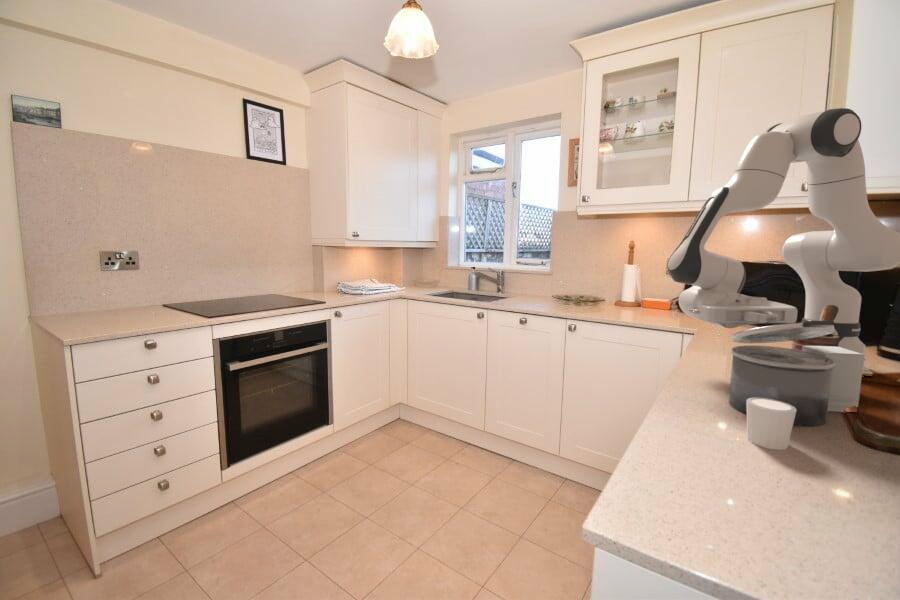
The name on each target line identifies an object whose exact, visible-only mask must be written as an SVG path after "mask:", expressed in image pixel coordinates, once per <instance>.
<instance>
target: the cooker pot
mask: <svg viewBox="0 0 900 600" xmlns="http://www.w3.org/2000/svg"><path fill="white" fill-rule="evenodd" d="M731 355H732V361H731V362H732V363H731V371H730V372H731V373H730V385H729V392H728V393H729V394H728V395H729V397H728V403H729V405H730V406H731V408H733V409H734V410H737V412H739V413H742V414H744V415H745V416H747V402H746V400H747V399H749V398H767V399H773V400H777V401H781V402H784V403H787V404H790V405H792V406H794V407H795V408H796V414H795V419H794V423H793V427H804V428H805V427H807V428H808V427H818V426H823V425H824V424H826V423H827V417H828V411H827V410H828V402H829V394H830V386H831V377H832V369H833V368H834V367H835V361H834V360H832V359H830V358H828V357H825V356H822V355H819V354H815V353H811V352H806V351H801V350H795V349H792V348H787V347H780V346H770V345H769V346H768V345H753V344H751V345H736V346H734V347H731Z"/></svg>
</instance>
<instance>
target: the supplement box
mask: <svg viewBox="0 0 900 600" xmlns="http://www.w3.org/2000/svg"><path fill="white" fill-rule="evenodd" d="M802 351H806V352H811V353H815V354H819V355H822V356H825V357H828V358H830V359H832V360H834V361H835V367H834V368H833V369H832V377H831V386H830V394H829V402H828V410H827V412H836V413H845V412H844V410H845V409H846V408H847V407H853V406H856V407H858V408H859V401H860V393H861V386H862V377H863V376H862V370H863V362H864V363H865V361H864V354H861V353H858V352H854V351H851V350H848V349H844V348H841V347H835V346H802Z"/></svg>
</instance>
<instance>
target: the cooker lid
mask: <svg viewBox="0 0 900 600" xmlns="http://www.w3.org/2000/svg"><path fill="white" fill-rule="evenodd" d="M834 331H835V329H834V321H809V322H806V323H801V322H795V323H779V324H772V325H765V326H759V327H753V328H748V329H743V330H741V331H737V332H735V333H732V335H731V339H732V342H733V343H738V344H770V343H783V342H792V341H795V340H802V339H809V338H815V337H820V336H824V335H828V334H831V333H833V332H834Z"/></svg>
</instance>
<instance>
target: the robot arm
mask: <svg viewBox="0 0 900 600" xmlns="http://www.w3.org/2000/svg"><path fill="white" fill-rule="evenodd" d="M861 133H862V121H861V118H860V117H859V115H858V114H857V113H856V112H855V111H854V110H853V109H851V108H843V107H839V108H837V107H836V108H830V109H827V110H825V111H820V112H814V113H813V112H812V113H808V114H805V115H801V116H798V117H797V118H794V119H790V120H788V121H785V122H782V123H776V124H775V125H773V126H770V127H769V128H767V129H766V130H765V131H763V132H762V133H759V134H757V135H755V136H754V137H753V138H752V139H751V140H750V141H749V143H748V145H747V146H746V148H745V149H744V151H743V152H742V154H741V156H740V157H739V160H738V162H737V164H736V166H735V168H734V171H733V173H732V175H731V177H730V179H729V180H728V181H727V183H726V184H725V185H724V186H723V187H720V188H717V189H715V190H714V191H713V192H712V193H711V194H710V196H708V198H707V199H706V201H705V202H704V204H703V205H702V206H701V209H700V210H699V212H698V214H697V215H696V216H695V219H694V220H693V222H692V223H691V225H690V226H689V228H688V230H687V232H686V234H685V236H684V237H683V238H682V241H681V242H680V243H679V245H678V246H676V248H675V250H674V251H673V252H672V254H670V256H669V258H668V260H667V264H666V267H667V271H668V274H669V275H670V277H671V279H672V280H673V281H674V283H675V282H676V283H678V284H685V285H689V286H691V287H689V288H687V289H685V290H683V291H681V293H680V295H679V296H678V305H679V308H680V310H681V311H682V312H683V313H684V314H685V315H687V316H689V317H690V318H692V319H695V320H697V321H701V322H705V323H710V324H711V325H713V326H714V325H715V326H719V327H722V328H724V329H735V328H738V327H742V326H748V325H757V324H759V325H760V324H791V323H797V320H798V308H797V307H796V306H793V305H790V304H787V303H782V302H778V301H772V300H768V298H767V297H763V296H756V295H755V296H753V295H752V296H751V295H746V294H743V293H741V291H742V290H743V288H744V286H745V283H746V279H747V278H746V277H747V275H746V274H747V273H746V268H745V266H744V264H743V263H742V262H741V260H739V259H735V258H732V257H730V256H726V255H723V254H719V253H716V252H712V251H709V250H707V249H705V245H706V243H707V241H708V240H709V238H710V236H711V234H712V233H713V231H714V229H715V228H716V227H717V225H718V223H719V222H720V220H721V219H722V218H723V217H724V216H727V215H728V214H731V213H733V214H734V213H743V212H744V213H745V212H746V213H747V212H753V211H758V210H761V209H763V208H765V207H767V206H768V205H770V204H772V203H773V202H775V200H776V199H777V197H778V195H779V194H780V192H781V189H782V188H783V186H784V182H785V180H786V177H787V175H788V173H789V169H790V167H791V166H790V165H791V164H793V163H794V164H795V163H800V162H805V163H806V165H807V169H806V170H807V171H806V184H807V200H808V201H807V202H808V210H809V212H810V213H811V215H812V216H814V217H816V218H818V219H821V220H823V221H826V222H827V223H828V224H829V225H830V226H831V227H832V229H833V230H814V231H807V232H800V233H797V234H793V235H790V237H788V239H786V240H785V242H784V244H783V246H782V249H781V255H782V259H783V260H784V262H785V264H786V265H788V266H789V267H791V269H793V270H794V271H795V272H796V274H798V276H799V277H800V279H801V281H802V283H803V287H804V290H805V305H804V306H805V307H804V317H802V319H801V322H800V323H806V322H809V321H820V317H821V313H822V310H823V308H824V307H825V306H826V305H835V306H837V307H838V308H839V310H838V313H837V316H836V318H835V319H834V329H835V331H834V332H833V333H831V334H833V335H837V336H839V345H838V347H841V348H844V349H848V350H851V351H854V352H858V353H861V354H864V362H863V370H862V373H869V374H873V375H874V373H873V371H871V370H870V369H869V368H867V367H866V366H865V361H866V359H865V356H866V344H864V343H863V341H861V340H860V338H859V336H860V332H861V323H860V314H861V313H860V312H861V307H862V306H861V305H862V295H861V293H860V292H859V291H858V290H857V289H856V288H855V287H853V286H851V285H848V284H846V283H845V282H843V280H842V279H841V277H840V274H839V271H841V272H844V271H845V272H865V273H866V272H867V273H868V272H877V271H885V270H892V269H894V268H896V267H898V266H899V265H900V232H899V231H895V230H894V229H892V228H890V227H888V226H887V225H886V224H884V223H883V222H882V221H881V220H879V219H878V218H877V216H876V215H875V214H874V212H873V211H872V209H871V207H870V205H869V201H868V194H867V183H866V167H865V158H864V155H863V150H862V146H861V143H860V141H859V139H860V135H861Z"/></svg>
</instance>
